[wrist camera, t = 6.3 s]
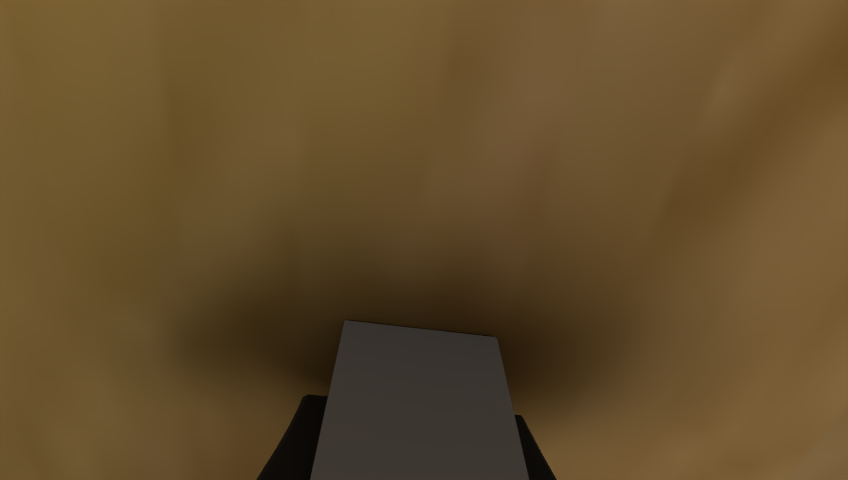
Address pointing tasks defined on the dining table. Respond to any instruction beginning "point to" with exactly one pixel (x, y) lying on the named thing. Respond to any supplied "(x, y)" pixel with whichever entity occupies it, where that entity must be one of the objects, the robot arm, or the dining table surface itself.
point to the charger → (418, 408)
